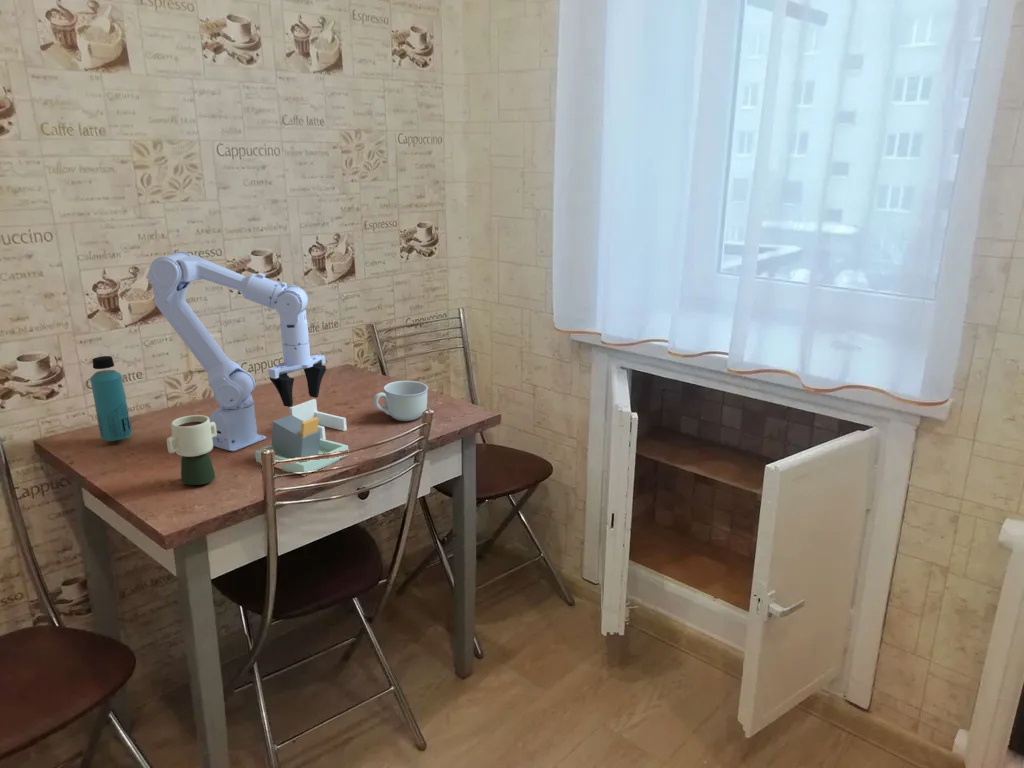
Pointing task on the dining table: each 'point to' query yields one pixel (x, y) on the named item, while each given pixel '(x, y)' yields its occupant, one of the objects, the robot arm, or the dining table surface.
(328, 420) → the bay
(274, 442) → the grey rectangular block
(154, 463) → the dining table surface
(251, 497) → the dining table surface
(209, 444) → the character mug
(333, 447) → the tray
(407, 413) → the teacup
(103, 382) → the beverage bottle
